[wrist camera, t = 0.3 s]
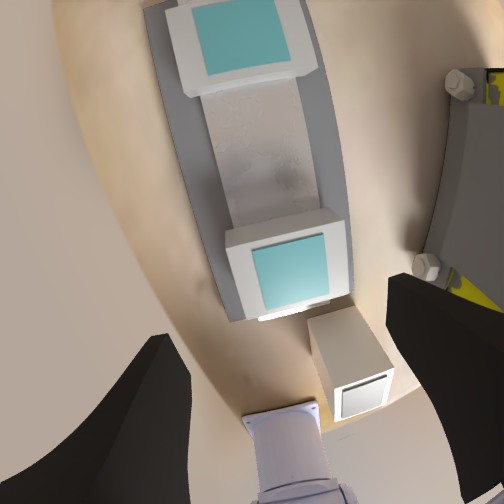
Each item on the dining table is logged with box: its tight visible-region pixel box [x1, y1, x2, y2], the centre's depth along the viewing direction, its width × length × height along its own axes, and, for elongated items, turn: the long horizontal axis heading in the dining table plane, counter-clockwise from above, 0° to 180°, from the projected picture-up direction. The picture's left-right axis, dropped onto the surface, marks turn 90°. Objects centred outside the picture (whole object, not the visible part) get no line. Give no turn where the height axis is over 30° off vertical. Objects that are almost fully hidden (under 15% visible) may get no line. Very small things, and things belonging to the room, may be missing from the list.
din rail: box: [177, 0, 331, 321], centre depth 14 cm, size 21×5×1 cm, turn 12°
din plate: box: [143, 0, 354, 322], centre depth 15 cm, size 21×9×1 cm, turn 12°
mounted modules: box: [165, 0, 349, 320], centre depth 13 cm, size 16×6×2 cm, turn 12°
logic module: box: [307, 305, 394, 422], centre depth 19 cm, size 4×4×7 cm
